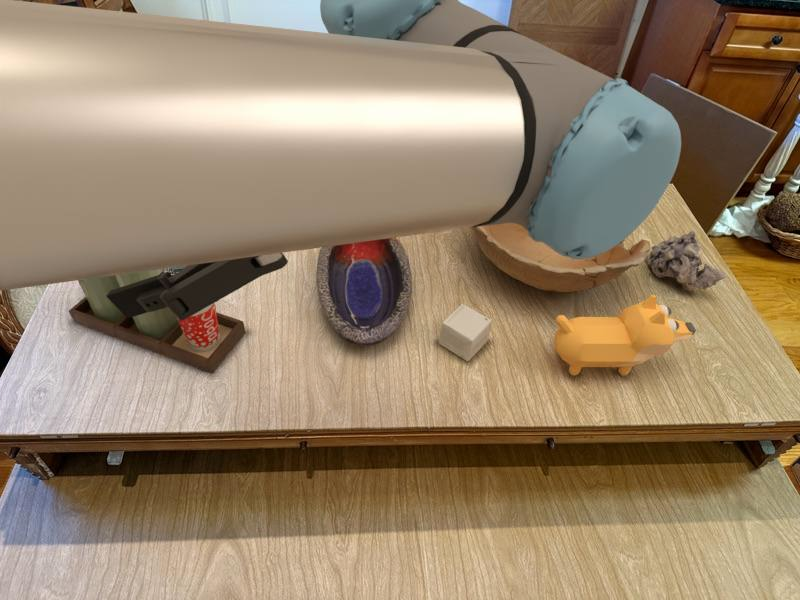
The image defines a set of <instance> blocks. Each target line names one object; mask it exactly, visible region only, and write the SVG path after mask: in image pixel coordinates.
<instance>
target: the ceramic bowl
mask: <svg viewBox="0 0 800 600" xmlns="http://www.w3.org/2000/svg"><path fill="white" fill-rule="evenodd" d="M471 230H472V232H473V235H474V237H475V240H476V242H477V243H478V246H479V247H480V248H481V251H482V252H483V253H484V255H485V257H487V258H488V260H489V261H490V262H492V263H493V264H494V265H495V267H497V268H498V269H500V270H501V271H502V272H503V273H505V274H507V275H508V276H510V277H511V278H513V279H516V280H518V281H520V282H521V283H523V284H525V285H527V286H531V287H533V288H536V289H539V290H542V291H551V292H561V293H562V292H563V293H570V292H581V291H585V290H589V289H593V288H596V287H599V286H600V285H601V286H602V285H604V284H606V283H608V282H610V281H613V280H614V279H616V278H618V277H619V276H621V275H622V274H623V273H625V272H627V271H628V270H629V269H631V268H632V267H638V266H639V265H641V264H643V263H645V261H646V259H647V258H648V259H649V256H650V253H649V252H651V244H650V242H651V241H650V240H647V239H642V238H641V240H640V241H638V242H637V243H635V244H633V245H632V246H631V247H630V249H627V248H626V247H625V243H624V242H625V241H626V239H624V240H623V241H622V242H620V243H619V244H618V245H616V246H615V247H613V248H611V249H610V250H608V251H606V252H604V253H602V254H600V255H597V256H595V257H591V258H587V259H572V258H570V257H566V256H563V255H561V254H558V253H557V252H555V251H554V250H553V249H551V248H550V247H549V246H547V245H546V244H544V243H543V242H536V241H534V240H533V239H532V238H531V237H530V236H529V235H528V232H529V231H528V230H526V229H525V228H524V227H523V226H521V225H519V224H516V223H504V224H497V225H487V226H477V227H471Z"/></svg>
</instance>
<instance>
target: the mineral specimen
mask: <svg viewBox="0 0 800 600" xmlns="http://www.w3.org/2000/svg"><path fill="white" fill-rule="evenodd" d="M702 245H703V244H701V243H700V242H698V241H697V240H696V232H695V231H693V230H690V231H689V232H688V233H687V234H682V235H680V237H677V236H676V235H674V236H670V237H669V238H668V239H666V240H663V241H661V242H658V244H657V245H653V246H651V250H650V251H649V252H650V253H649V256H648V261H647V265H648V266H649V267H650V268H651V271H652V273H653V274H654V275H655V276H656V277H658V278H660V279H662V278H665V277H670V278H675V279H676V281H677V282H678V283H679V285H682V288H683V289H684V290H685V291H687V292H691V291H692V290H693V289H700V290H705V291H706V290H707V289H710V288H712V287H713V286H716V285H717V284H718V283H717V282H720V281H722V280H724V279H726V278H727V275H726V273H725V272H724V271H723V270H720V269H716V268H714V267H713V265H712V264H711V265H710V264H708V263H704V266H703V268H701V269H700V266H701V265H703V262H702V258H701V254H699V252H700V251H702Z"/></svg>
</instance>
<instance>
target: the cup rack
mask: <svg viewBox="0 0 800 600" xmlns="http://www.w3.org/2000/svg"><path fill="white" fill-rule="evenodd" d="M68 313H69V315H70V316H71V319H72V320H73V322H74V323H75V324H78V325H81V326H84V327H86V328H89V329H90V330H95V331H97V332H100V333H102V334H104V335H108V336H110V337H112V338H113V337H114V338H115V339H118V340H122V341H124V342H127V343H130V344H133V345H134V346H137V347H140V348H143V349H145V350H148V351H150V352H153V353H157V354H159V355H162V356H164V357H167V358H170V359H172V360H176V361H178V362H181V363H183V364H186V365H189V366H192V367H194V368H197V369H199V370H201V371H205V372H208V373H210V374H214V372H215V371H216V369H217V368H219V366H220V365H221V363H222V362H223V361H224V360H225V359H226V357H227V356H228V355H229V354H230V352H231V351H232V350H233V349H234V348H235V346H236V345H237V344H238V343H239V341H240V340H241V339H242V337H243V336H244V335H245V334H246V332H247V331H246V328H245V327H246V326H245V324H244V321H243V320H240V319H237V318H235V317H231V316H228V315H225V314H224V313H223V314H222V313H220V312H217V311H216V314H217V320H218V325H219V331H220V342H219V343H218V345H217V346H216V347H214V348H213V349H211V350H209V351H204V352H198V351H194V350H193V349H191V348H190V346H189V344H188V342H187V340H186V337H185V335H184V333H183V331H182V328H181V326H180V324H179V322H178V323H177V324H176V325H175V326H174V327H173V328H172V329H171V330H170V331H169V332H168V334H167V335H166V336H165V337H164V338H163V339H160V340H157V339H154V338H151V337H148V336H146V335H143V334H140V333H139V332H138V330H137V328H136V325H135V323H134V320H133V318H132V317H131V318H127V317H126V316H125V315H124V316H123V317H122V318H121V319H120V320H119V321H118V322H117V323H116V324H113V323H110V322H107V321H104V320H102V319H99V318H96V316H95V315H94V313H93V310H92V308H91V306H90V304H89V302H88V300H87V298H86V296H83V298H82V299H81V300H79V302H77V303H75V305H73V306H72V307H71V308H70V309H69V310H68Z"/></svg>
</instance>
